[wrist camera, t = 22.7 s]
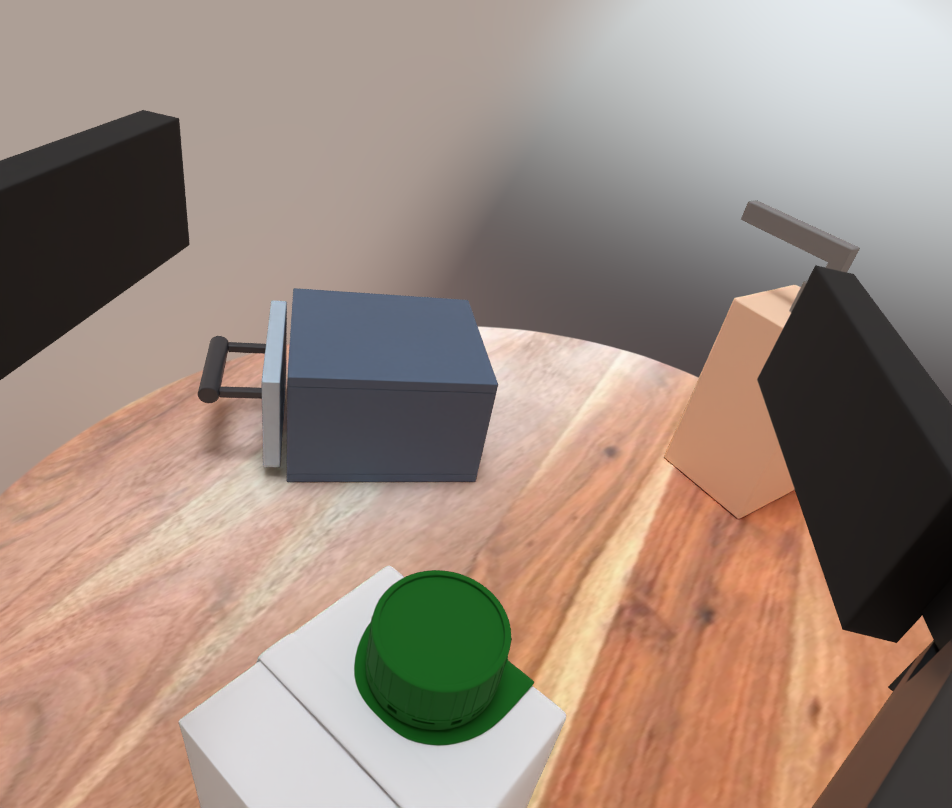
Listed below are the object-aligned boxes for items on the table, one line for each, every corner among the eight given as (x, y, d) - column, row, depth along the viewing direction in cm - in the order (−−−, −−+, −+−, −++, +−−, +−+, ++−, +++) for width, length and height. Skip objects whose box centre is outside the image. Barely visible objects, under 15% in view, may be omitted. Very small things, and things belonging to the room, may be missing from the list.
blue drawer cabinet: (286, 482, 50) (287, 376, 44) (292, 384, 60) (293, 288, 54) (475, 481, 53) (498, 384, 48) (451, 389, 63) (468, 299, 58)
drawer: (198, 467, 48) (189, 379, 44) (217, 377, 57) (211, 296, 53) (441, 468, 53) (457, 388, 48) (424, 384, 62) (435, 310, 57)
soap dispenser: (795, 489, 60) (934, 265, 47) (738, 519, 55) (875, 279, 42) (688, 409, 68) (783, 197, 55) (630, 429, 63) (719, 203, 50)
